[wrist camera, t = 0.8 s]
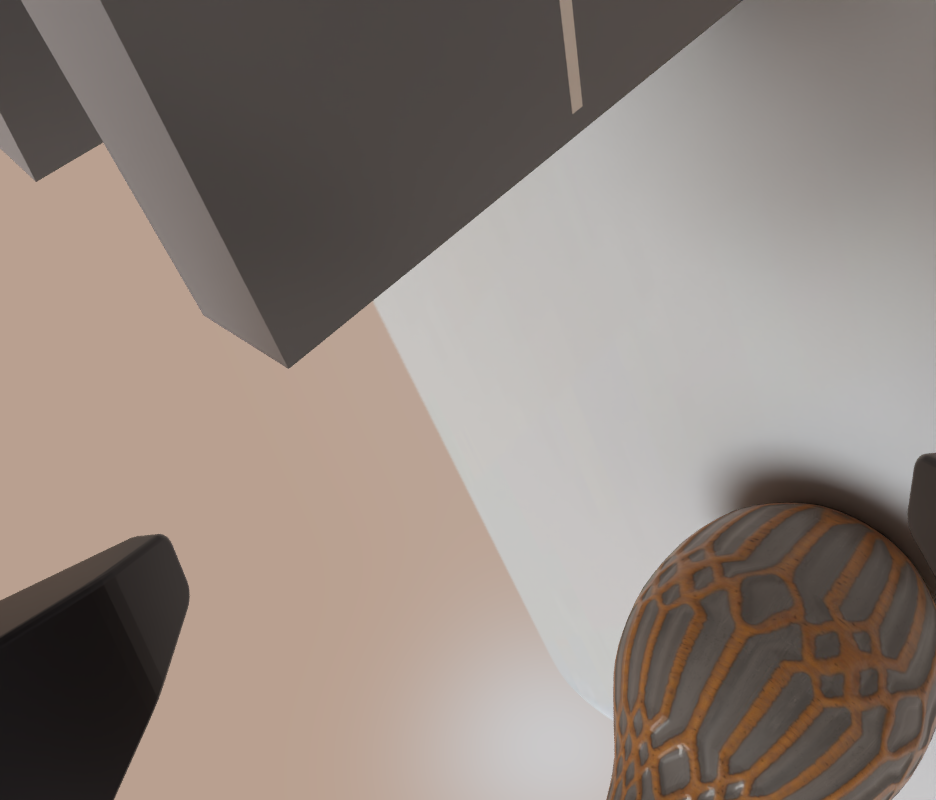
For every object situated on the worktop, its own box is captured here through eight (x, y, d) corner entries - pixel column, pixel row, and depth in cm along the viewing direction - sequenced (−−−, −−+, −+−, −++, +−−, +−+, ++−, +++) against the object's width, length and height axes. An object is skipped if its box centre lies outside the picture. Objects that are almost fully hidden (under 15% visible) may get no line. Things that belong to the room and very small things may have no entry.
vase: (864, 667, 24) (698, 937, 20) (684, 502, 24) (496, 733, 21) (1069, 640, 17) (881, 1026, 14) (816, 420, 18) (580, 728, 15)
